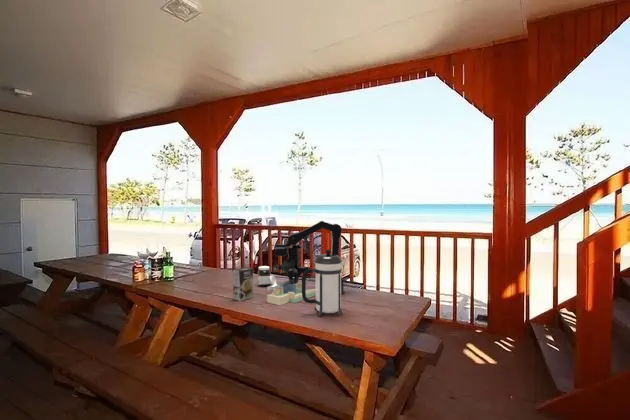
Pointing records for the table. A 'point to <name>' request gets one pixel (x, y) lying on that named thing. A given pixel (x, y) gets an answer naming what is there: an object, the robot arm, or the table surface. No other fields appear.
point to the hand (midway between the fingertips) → (293, 283)
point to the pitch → (289, 295)
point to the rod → (285, 286)
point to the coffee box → (242, 284)
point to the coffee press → (326, 283)
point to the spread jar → (265, 277)
